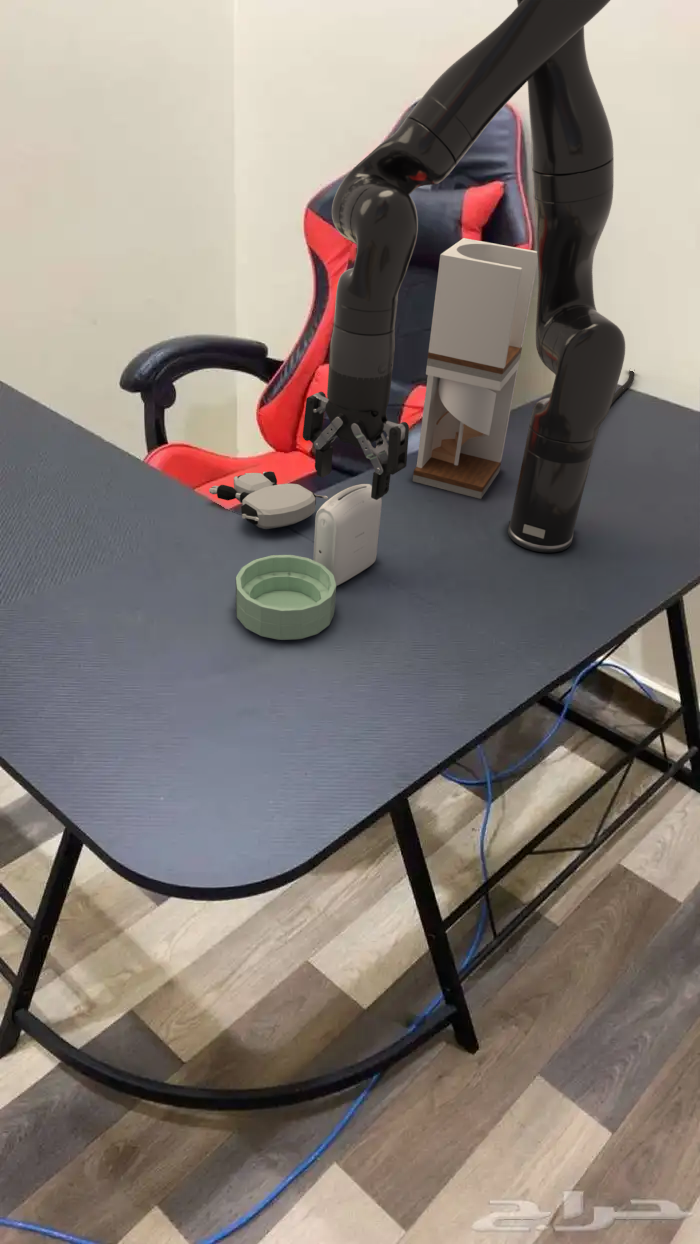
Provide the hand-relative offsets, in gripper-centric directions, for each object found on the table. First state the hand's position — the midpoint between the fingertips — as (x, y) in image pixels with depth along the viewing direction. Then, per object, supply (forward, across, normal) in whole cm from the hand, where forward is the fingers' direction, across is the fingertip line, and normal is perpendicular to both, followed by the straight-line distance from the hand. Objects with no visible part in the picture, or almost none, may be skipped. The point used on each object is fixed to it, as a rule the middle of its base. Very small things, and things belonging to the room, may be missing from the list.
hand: (350, 485), depth 121 cm
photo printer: (+13, 0, 0) cm, 13 cm away
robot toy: (+13, +18, -5) cm, 23 cm away
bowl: (+13, 0, +13) cm, 18 cm away
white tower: (+13, +3, -35) cm, 38 cm away
